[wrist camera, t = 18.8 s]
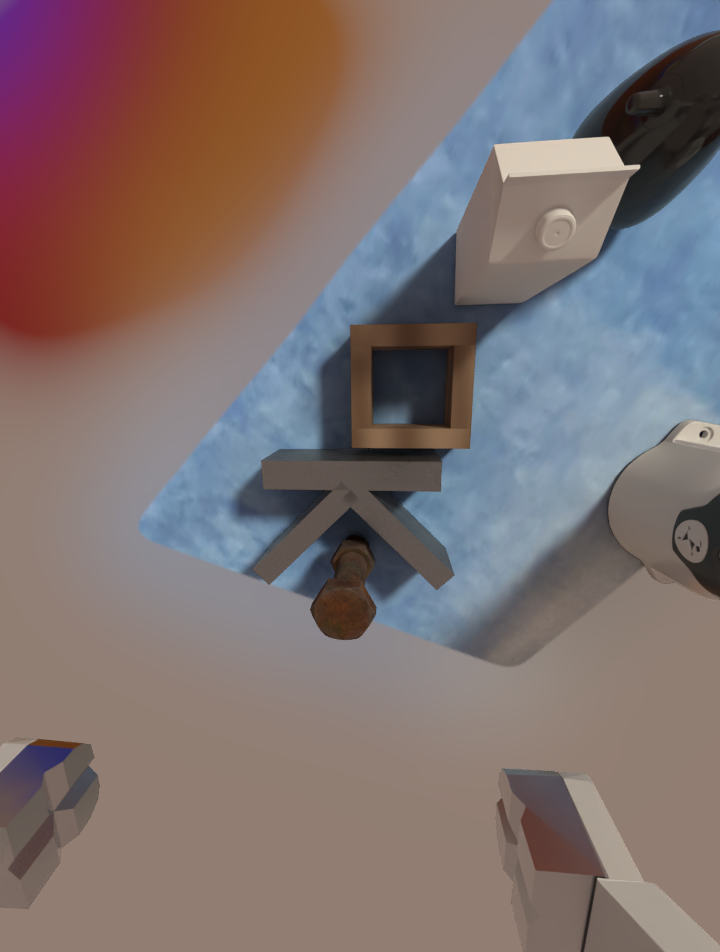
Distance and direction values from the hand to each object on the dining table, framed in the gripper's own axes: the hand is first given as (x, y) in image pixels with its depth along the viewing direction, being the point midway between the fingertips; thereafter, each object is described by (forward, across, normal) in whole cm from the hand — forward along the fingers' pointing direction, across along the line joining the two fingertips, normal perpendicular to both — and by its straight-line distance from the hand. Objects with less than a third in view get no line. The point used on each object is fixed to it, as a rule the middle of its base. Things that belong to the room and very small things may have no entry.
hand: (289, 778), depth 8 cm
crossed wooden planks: (+39, -2, -7) cm, 40 cm away
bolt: (+39, -2, -12) cm, 41 cm away
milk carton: (+39, +12, +19) cm, 45 cm away
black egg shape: (+39, +22, +26) cm, 52 cm away
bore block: (+39, +4, +7) cm, 40 cm away
